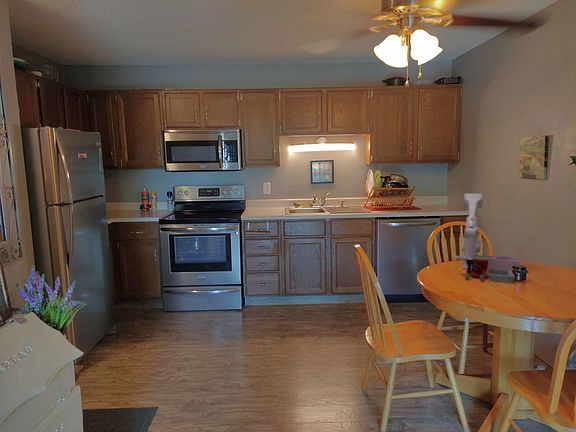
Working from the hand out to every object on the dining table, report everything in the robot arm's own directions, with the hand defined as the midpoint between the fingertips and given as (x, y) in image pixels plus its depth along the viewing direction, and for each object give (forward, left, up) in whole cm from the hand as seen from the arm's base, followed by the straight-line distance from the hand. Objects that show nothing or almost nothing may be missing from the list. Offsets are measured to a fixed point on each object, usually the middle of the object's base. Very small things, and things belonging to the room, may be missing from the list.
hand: (469, 273), depth 220 cm
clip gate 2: (0, +6, -1) cm, 6 cm away
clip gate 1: (0, -1, -1) cm, 2 cm away
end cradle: (0, +14, -1) cm, 14 cm away
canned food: (0, +5, -1) cm, 5 cm away
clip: (-21, +16, -2) cm, 26 cm away
